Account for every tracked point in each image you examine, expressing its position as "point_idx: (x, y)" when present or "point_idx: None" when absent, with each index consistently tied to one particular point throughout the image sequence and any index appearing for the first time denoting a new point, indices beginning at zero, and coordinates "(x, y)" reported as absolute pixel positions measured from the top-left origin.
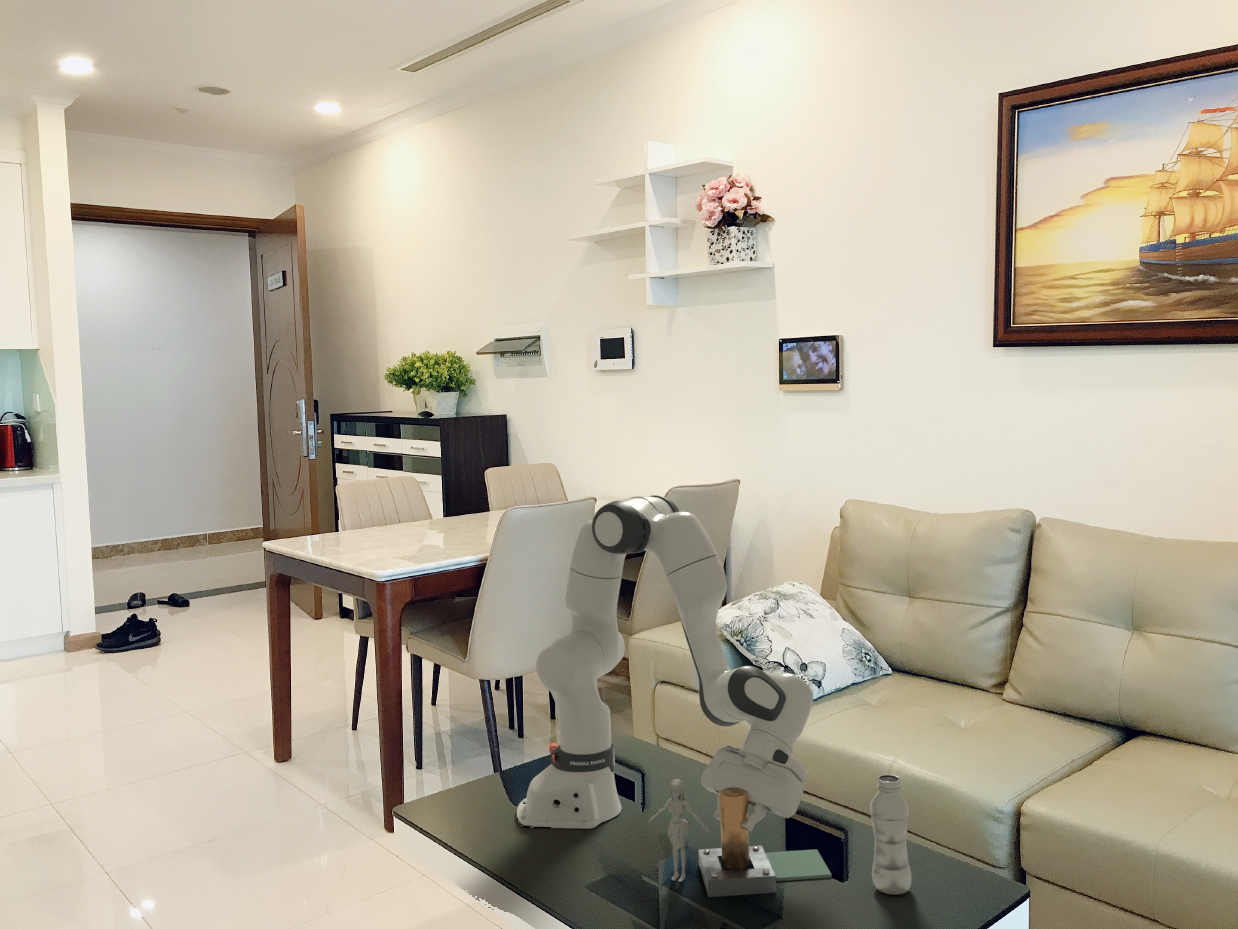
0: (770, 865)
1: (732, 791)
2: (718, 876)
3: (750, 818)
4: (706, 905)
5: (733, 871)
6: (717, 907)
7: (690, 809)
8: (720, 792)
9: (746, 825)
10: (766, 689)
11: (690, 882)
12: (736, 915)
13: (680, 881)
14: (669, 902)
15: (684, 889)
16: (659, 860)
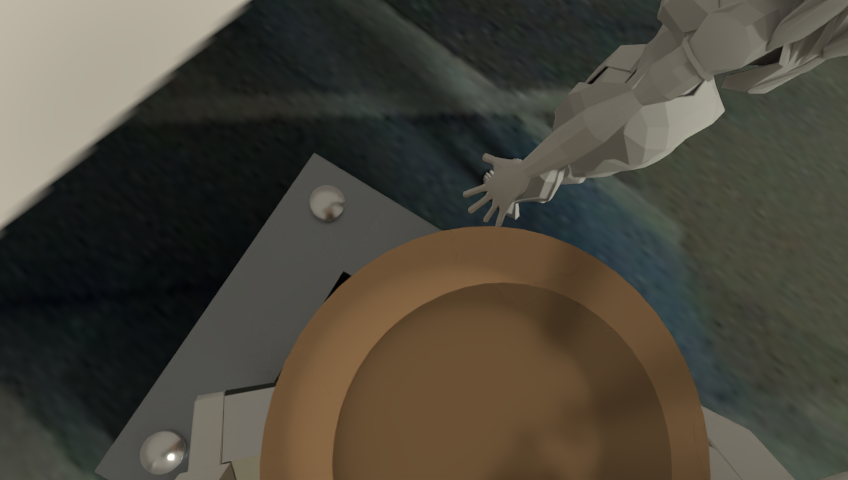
0: None
1: (510, 436)
2: (311, 217)
3: (196, 470)
4: (268, 132)
5: (301, 311)
6: (223, 154)
7: (657, 73)
8: (622, 293)
9: (211, 399)
10: None
11: (461, 206)
12: (113, 168)
13: (486, 175)
14: (383, 46)
15: (429, 151)
16: (678, 228)
